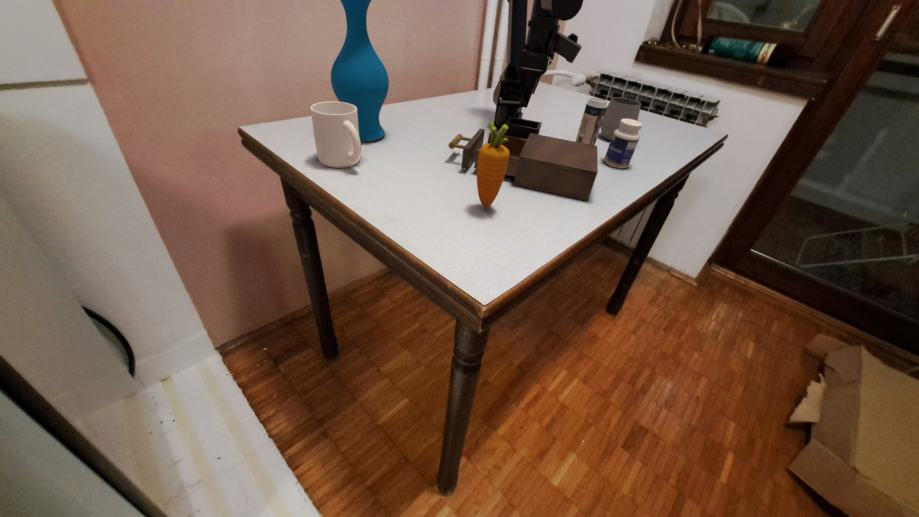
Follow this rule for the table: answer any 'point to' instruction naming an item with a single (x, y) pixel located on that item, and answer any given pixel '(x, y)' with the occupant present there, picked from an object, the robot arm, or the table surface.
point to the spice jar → (591, 121)
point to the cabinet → (557, 166)
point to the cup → (618, 114)
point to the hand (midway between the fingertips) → (528, 98)
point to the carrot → (492, 166)
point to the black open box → (521, 127)
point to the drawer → (476, 142)
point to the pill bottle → (623, 143)
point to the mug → (336, 133)
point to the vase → (360, 72)
